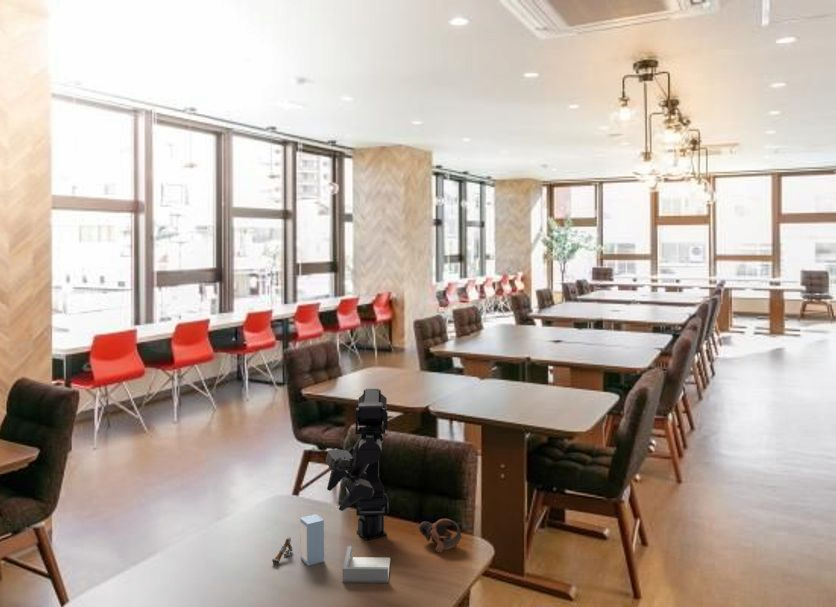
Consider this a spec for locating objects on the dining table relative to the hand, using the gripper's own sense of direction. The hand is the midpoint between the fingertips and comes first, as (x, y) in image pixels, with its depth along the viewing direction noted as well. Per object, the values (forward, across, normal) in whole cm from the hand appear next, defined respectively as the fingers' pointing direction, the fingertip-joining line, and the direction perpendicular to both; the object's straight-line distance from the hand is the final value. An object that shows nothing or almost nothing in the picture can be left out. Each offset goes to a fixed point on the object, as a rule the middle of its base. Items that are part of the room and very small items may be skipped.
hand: (334, 499), depth 174 cm
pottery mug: (-2, +11, +30) cm, 32 cm away
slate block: (+16, +4, +1) cm, 16 cm away
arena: (+8, +15, +9) cm, 20 cm away
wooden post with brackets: (+20, 0, -4) cm, 20 cm away
